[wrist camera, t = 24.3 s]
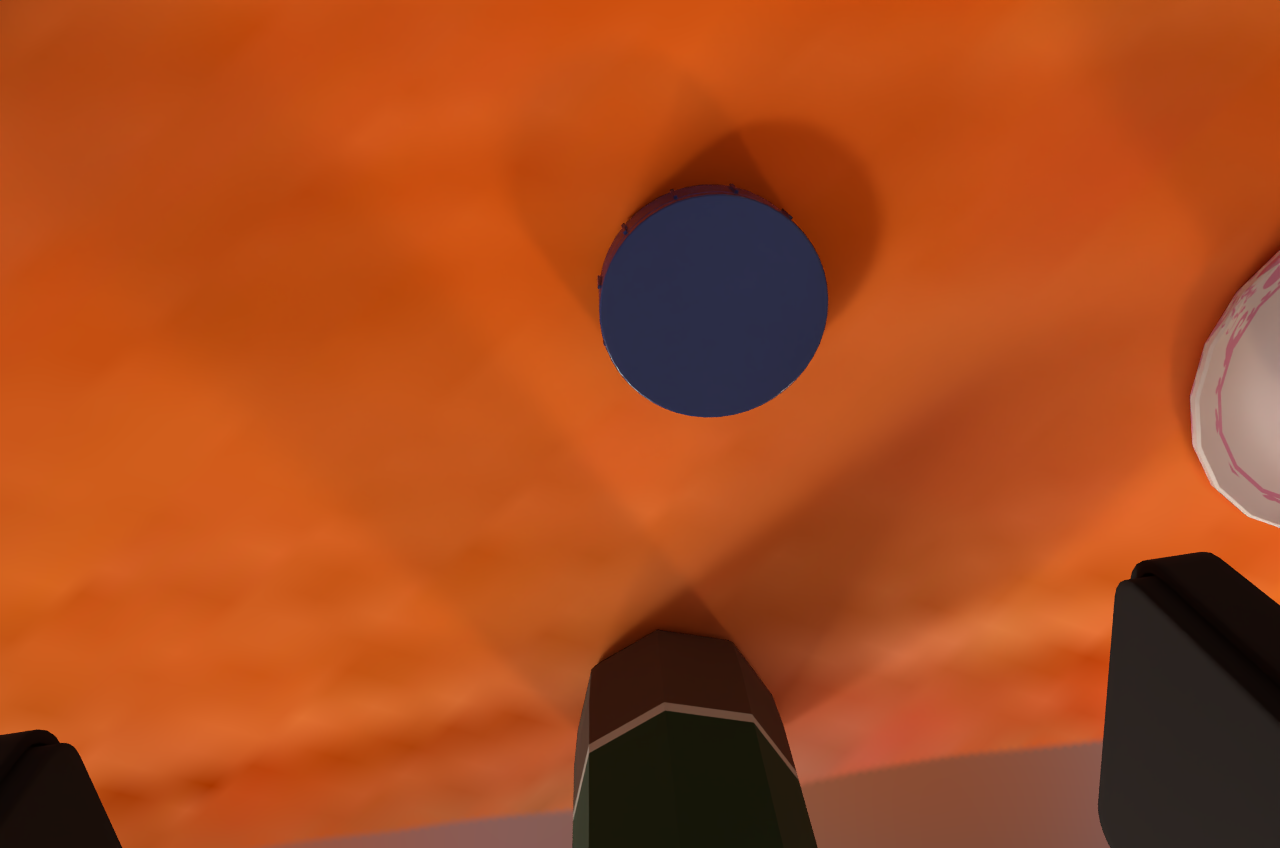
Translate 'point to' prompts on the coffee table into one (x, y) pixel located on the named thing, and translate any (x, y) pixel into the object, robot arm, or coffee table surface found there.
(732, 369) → the jar lid
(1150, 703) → the robot arm
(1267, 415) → the teacup
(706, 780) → the beer bottle
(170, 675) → the coffee table surface
